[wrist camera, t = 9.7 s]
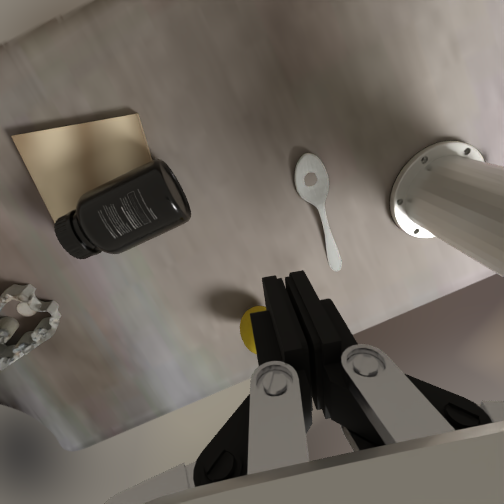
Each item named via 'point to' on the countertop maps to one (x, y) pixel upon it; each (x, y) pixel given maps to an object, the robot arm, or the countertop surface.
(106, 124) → the cutting board
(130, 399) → the countertop surface
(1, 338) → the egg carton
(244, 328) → the lemon
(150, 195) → the supplement bottle
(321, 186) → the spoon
